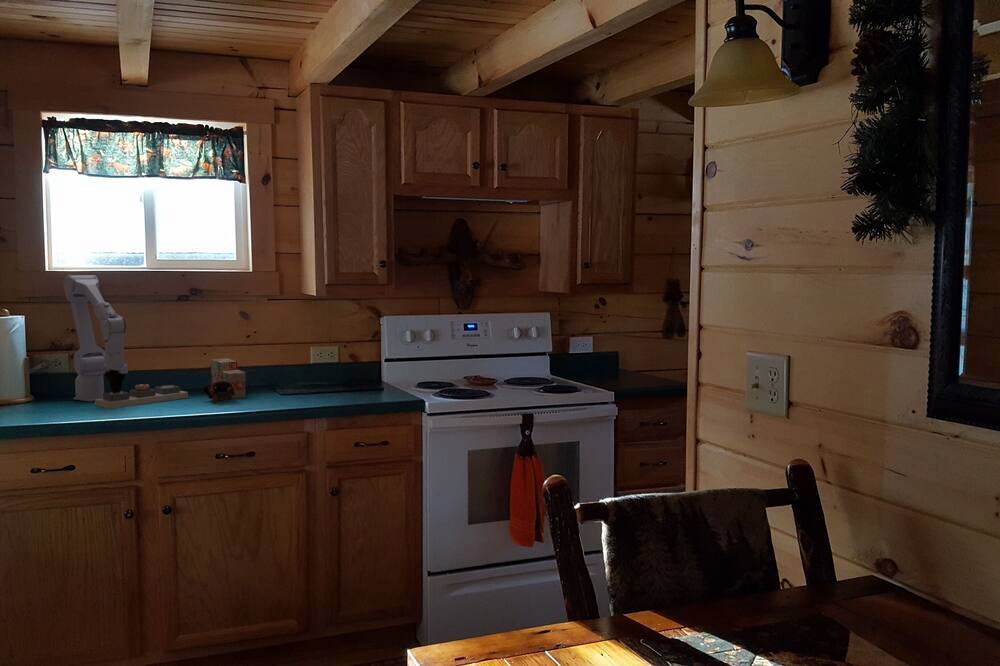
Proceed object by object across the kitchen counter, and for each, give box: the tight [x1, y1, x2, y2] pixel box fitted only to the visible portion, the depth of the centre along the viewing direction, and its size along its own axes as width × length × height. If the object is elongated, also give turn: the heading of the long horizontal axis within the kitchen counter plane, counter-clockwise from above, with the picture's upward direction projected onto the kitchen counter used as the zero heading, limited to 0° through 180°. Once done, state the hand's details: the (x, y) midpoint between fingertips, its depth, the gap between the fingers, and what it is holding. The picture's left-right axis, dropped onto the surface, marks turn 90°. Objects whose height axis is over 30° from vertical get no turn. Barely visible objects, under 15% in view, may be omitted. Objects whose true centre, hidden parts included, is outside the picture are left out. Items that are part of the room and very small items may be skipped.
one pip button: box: [161, 385, 174, 389], centre depth 285 cm, size 4×4×2 cm
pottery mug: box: [202, 381, 235, 405], centre depth 279 cm, size 12×10×8 cm
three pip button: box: [135, 383, 150, 391], centre depth 278 cm, size 4×4×2 cm
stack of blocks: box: [210, 357, 247, 400], centre depth 294 cm, size 21×6×12 cm, turn 35°
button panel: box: [94, 384, 189, 410], centre depth 278 cm, size 28×10×4 cm, turn 139°
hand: (116, 392), depth 271 cm, fingers closed
